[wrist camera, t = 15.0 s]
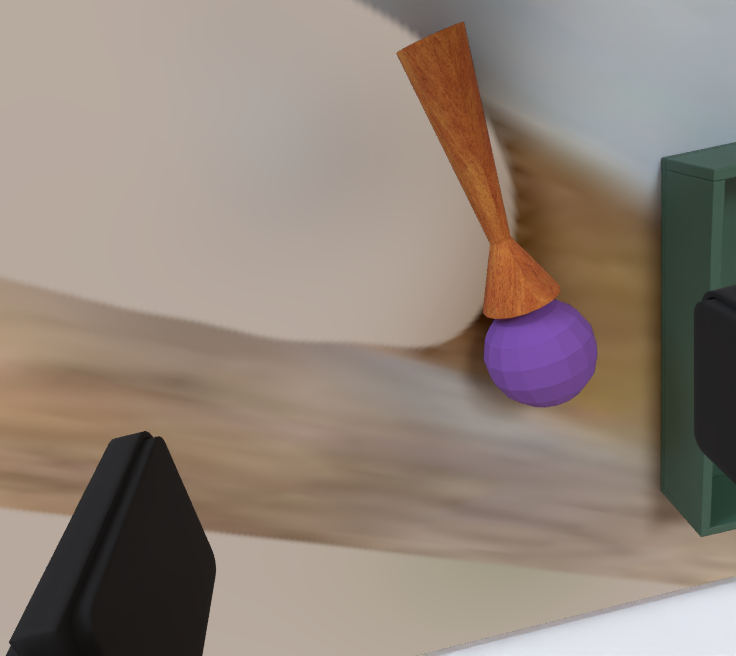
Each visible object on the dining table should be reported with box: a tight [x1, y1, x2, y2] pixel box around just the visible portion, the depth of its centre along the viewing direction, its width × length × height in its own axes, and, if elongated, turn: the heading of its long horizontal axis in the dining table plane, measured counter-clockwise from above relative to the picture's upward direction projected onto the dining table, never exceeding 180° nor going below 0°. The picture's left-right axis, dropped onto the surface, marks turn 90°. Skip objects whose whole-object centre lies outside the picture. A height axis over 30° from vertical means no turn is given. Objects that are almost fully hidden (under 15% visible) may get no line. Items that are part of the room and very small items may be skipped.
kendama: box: [396, 22, 597, 407], centre depth 31 cm, size 6×6×20 cm
